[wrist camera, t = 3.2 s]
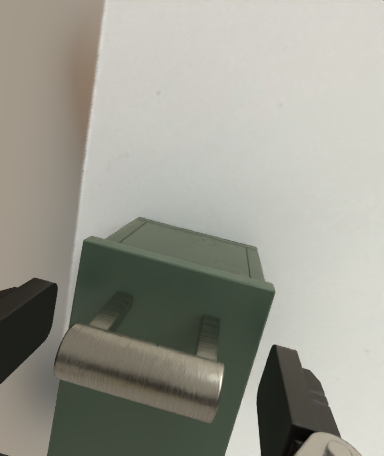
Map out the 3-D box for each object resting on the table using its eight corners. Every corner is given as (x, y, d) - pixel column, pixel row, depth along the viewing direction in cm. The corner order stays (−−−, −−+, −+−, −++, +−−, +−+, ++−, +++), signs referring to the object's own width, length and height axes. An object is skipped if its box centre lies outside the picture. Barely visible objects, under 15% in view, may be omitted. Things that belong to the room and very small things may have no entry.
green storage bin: (138, 216, 22) (89, 248, 14) (257, 247, 21) (269, 296, 14) (108, 365, 24) (52, 458, 17) (214, 396, 24) (204, 506, 16)
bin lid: (91, 235, 14) (7, 281, 9) (273, 283, 14) (298, 362, 8) (52, 459, 17) (-31, 598, 12) (204, 507, 16) (190, 675, 11)
